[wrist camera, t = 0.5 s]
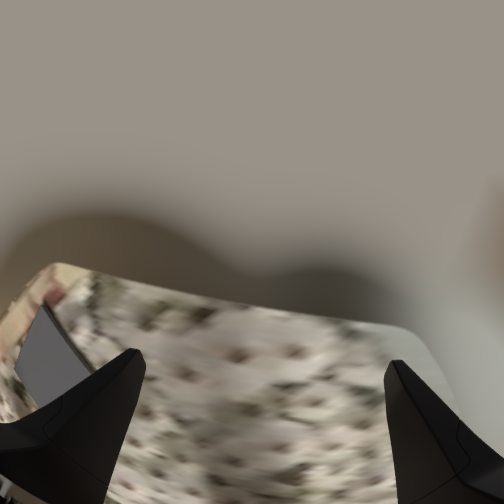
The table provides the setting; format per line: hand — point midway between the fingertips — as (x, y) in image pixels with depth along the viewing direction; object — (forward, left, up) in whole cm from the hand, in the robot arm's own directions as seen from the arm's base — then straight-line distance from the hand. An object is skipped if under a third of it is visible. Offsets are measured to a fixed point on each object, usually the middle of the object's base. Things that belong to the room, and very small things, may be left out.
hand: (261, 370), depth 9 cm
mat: (-1, +28, -15) cm, 31 cm away
